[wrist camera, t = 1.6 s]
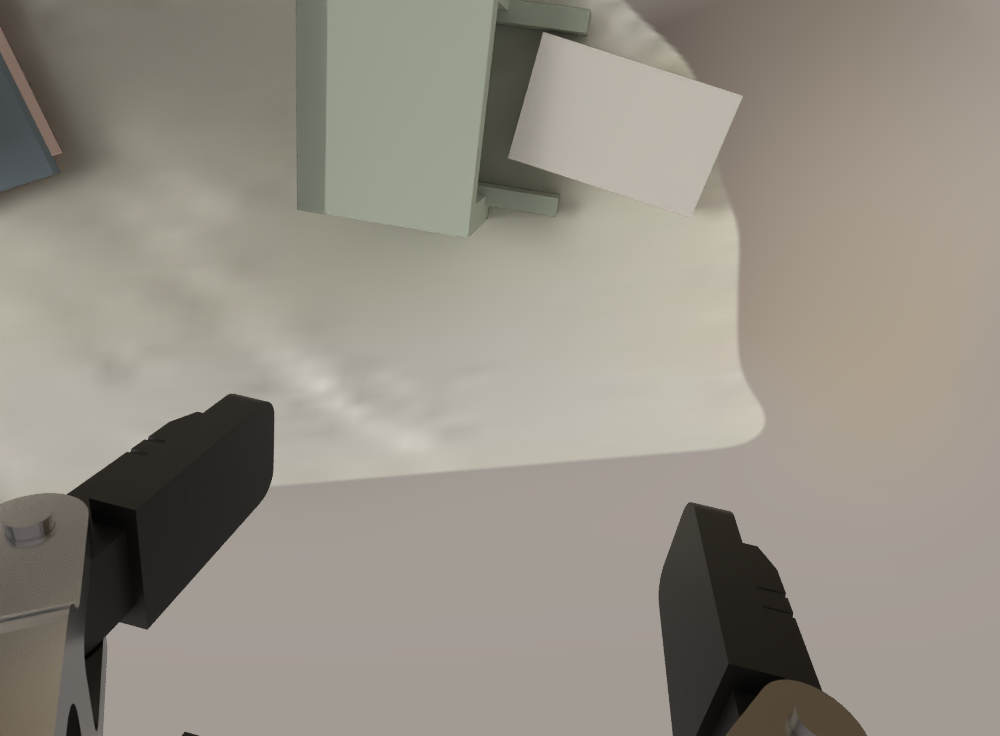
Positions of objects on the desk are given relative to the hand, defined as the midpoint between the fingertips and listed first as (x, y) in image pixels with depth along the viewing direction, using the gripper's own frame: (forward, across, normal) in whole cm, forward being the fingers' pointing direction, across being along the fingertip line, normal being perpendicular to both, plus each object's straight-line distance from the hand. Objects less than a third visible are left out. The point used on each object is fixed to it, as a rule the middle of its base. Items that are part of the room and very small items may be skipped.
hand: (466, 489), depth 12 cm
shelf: (+26, +7, -6) cm, 28 cm away
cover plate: (+26, -2, -6) cm, 27 cm away
